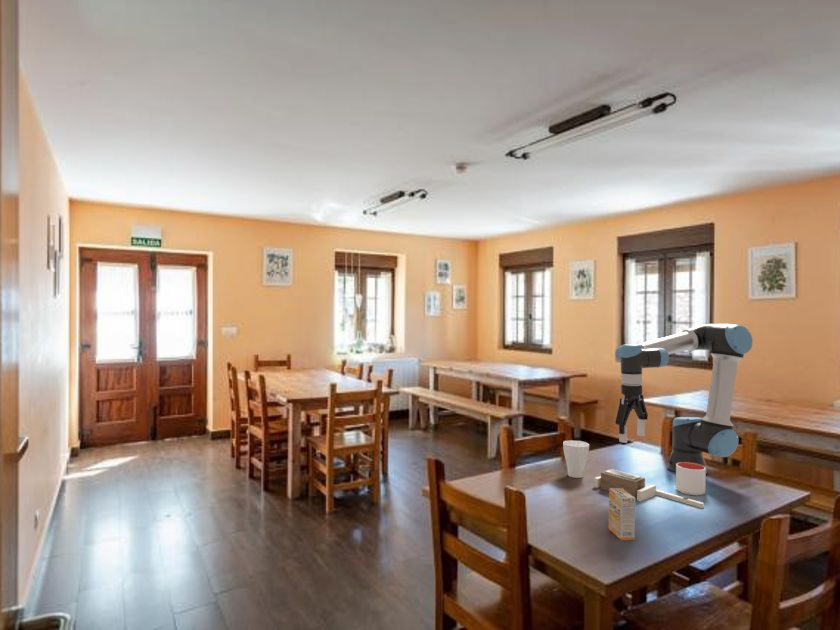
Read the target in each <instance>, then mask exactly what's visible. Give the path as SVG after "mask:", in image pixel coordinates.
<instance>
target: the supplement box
mask: <svg viewBox="0 0 840 630" xmlns="http://www.w3.org/2000/svg"><path fill="white" fill-rule="evenodd" d="M608 530H609V531H610V532H612V534H613V535H615V536H616V537H617V538H618V539H619V540H620V541H635V539H636V538H635V533H636V532H635V531H636V499H635V497H633V496H632V495H631V494H630V493H628V492H627V491H626V490H624V489H623V488H610V489H609V491H608Z"/></svg>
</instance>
